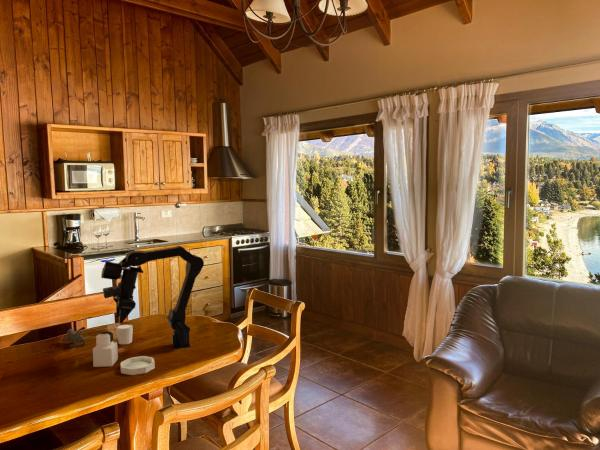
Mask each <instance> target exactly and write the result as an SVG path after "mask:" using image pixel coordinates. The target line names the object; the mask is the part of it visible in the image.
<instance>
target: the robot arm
mask: <svg viewBox="0 0 600 450" xmlns="http://www.w3.org/2000/svg"><path fill="white" fill-rule="evenodd" d="M174 257H175V258H176V257H179V258H181V259H182V260H183V261H185V262H186V264H185V276H184V279H183V282H182V285H181V288H180V292H179V294H178V298H177V301H176V304H175V307H174V308H173V309H171V308H170V309H169V310H168V311H169V312H168V316H166V319H167V323H168V325H169V326H170V327H171V328H172V330H173V331H172V334H171V344H172V346H173V347H174V349H179V348H180V349H181V348H187V347H188V348H189V347H191V343H190V331H191V327H190V326H189V325H188V324H187V323H186V318H187V317H186V316H187V315H186V313H187V312H186V311H187V307H188V304H189V301H190V297H191V294H192V291H193V288H194V285H195V281H196V280H197V279H196V278H198V276H199V274H200V273H201V271H202V270H203V267H204V265H205V261H204V259H203V258H202V257H200V256H198V255H196V254H192V253H191V252H190V251H188V250H187V249H186V248H184V247H183V246H181V245H176V246H172V247H166V248H160V249H154V250H138V249H137V250H136V249H135V250H129V251H128V252H127V253H126V255H125V257H124V258H122V259H121V260H120V261H119V262H114V261H113V262H112V261H109V260H105V263H104V265H103V267H102V270H101V275H100V277H101V279H105V280H106V279H107V280H112V281H113V280H114V281H117V280H118V279H120V281H119V282H118V284H117V285H115V286H109V287H103V288H102V294H103V297H104V299H109V298H113V301H114V302H115V317H116V318H118V319H119V320H118V321H119V324H123V323H124V322H125V320H126V319H127V318H128V316H129V315H130V314H131V312H133V310H134V309H136V305H137V304H136V303H137V302H135V301H134V291H135V290H136V287H137V286H136V283H137V278H138V275H139V273H140V274H144V271H143V269H142V267H141V265H144V264H146V263H149V262H152V261H158V260H162V259H168V258H174Z"/></svg>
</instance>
